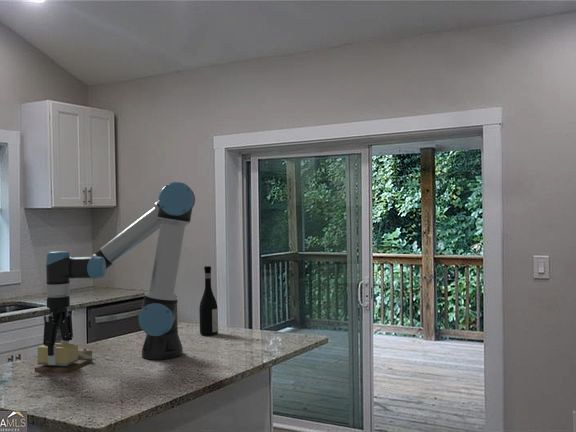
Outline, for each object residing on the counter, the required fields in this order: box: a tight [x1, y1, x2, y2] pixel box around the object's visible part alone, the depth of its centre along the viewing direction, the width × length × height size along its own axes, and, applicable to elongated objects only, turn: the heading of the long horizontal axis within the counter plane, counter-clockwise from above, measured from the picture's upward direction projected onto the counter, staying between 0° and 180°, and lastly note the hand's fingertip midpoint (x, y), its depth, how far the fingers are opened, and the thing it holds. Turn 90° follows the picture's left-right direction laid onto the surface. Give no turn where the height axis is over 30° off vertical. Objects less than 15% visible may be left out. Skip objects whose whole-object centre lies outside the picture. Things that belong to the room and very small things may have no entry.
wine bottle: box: [198, 265, 219, 337], centre depth 259 cm, size 8×8×30 cm
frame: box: [37, 343, 79, 366], centre depth 204 cm, size 11×7×6 cm, turn 79°
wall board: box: [34, 348, 93, 373], centre depth 207 cm, size 13×15×5 cm
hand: (58, 361), depth 204 cm, fingers closed on frame, 7 cm apart
